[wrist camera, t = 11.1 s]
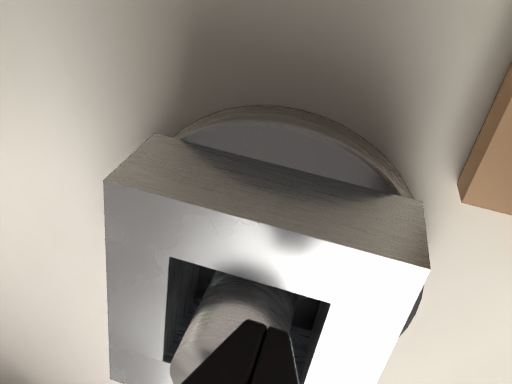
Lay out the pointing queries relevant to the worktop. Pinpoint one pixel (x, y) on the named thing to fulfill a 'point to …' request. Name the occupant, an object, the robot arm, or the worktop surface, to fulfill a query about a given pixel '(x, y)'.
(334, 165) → the hub
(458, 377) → the worktop surface
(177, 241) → the collar
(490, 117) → the stand
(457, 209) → the worktop surface
